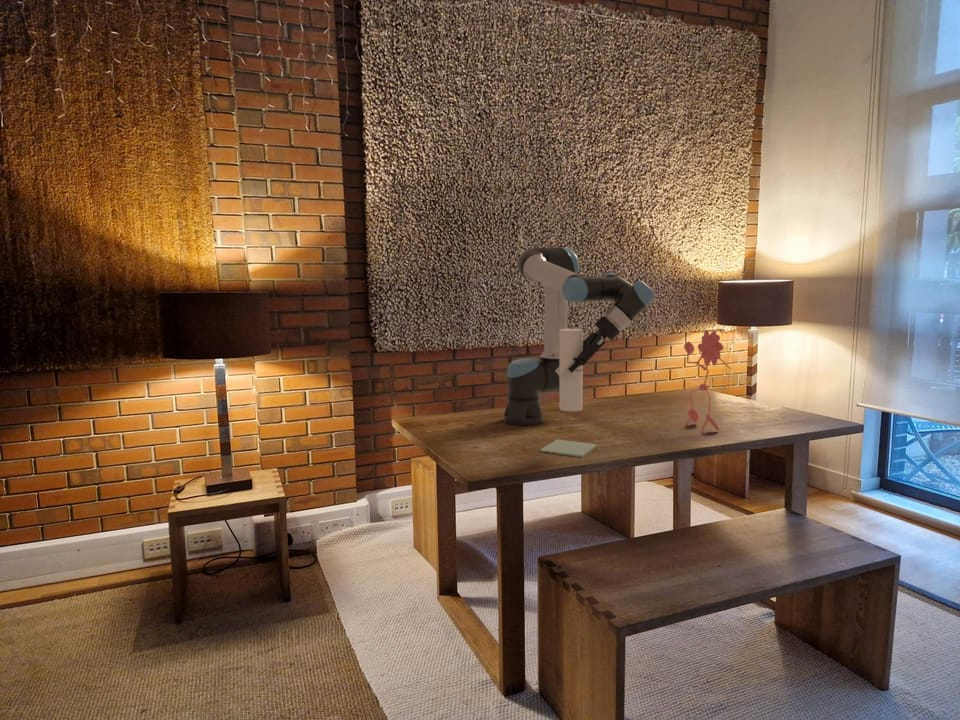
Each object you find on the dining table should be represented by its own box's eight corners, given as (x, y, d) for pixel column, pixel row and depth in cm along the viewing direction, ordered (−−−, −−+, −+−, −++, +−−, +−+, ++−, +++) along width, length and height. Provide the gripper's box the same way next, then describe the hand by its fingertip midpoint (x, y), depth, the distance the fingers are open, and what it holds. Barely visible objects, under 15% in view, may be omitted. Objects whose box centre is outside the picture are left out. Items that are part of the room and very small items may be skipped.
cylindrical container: (581, 411, 196) (582, 330, 193) (558, 411, 198) (558, 330, 194) (582, 406, 203) (583, 328, 200) (560, 406, 205) (560, 328, 201)
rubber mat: (539, 451, 200) (539, 449, 200) (556, 441, 213) (556, 439, 213) (582, 457, 194) (582, 455, 194) (597, 446, 206) (597, 444, 206)
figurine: (714, 438, 214) (718, 334, 209) (670, 421, 238) (673, 328, 233) (752, 434, 218) (757, 332, 213) (705, 418, 242) (709, 326, 237)
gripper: (628, 335, 188) (573, 390, 190) (613, 329, 208) (563, 379, 209) (610, 317, 187) (555, 373, 189) (597, 313, 207) (547, 363, 209)
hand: (559, 376), depth 199 cm, fingers closed on cylindrical container, 7 cm apart
